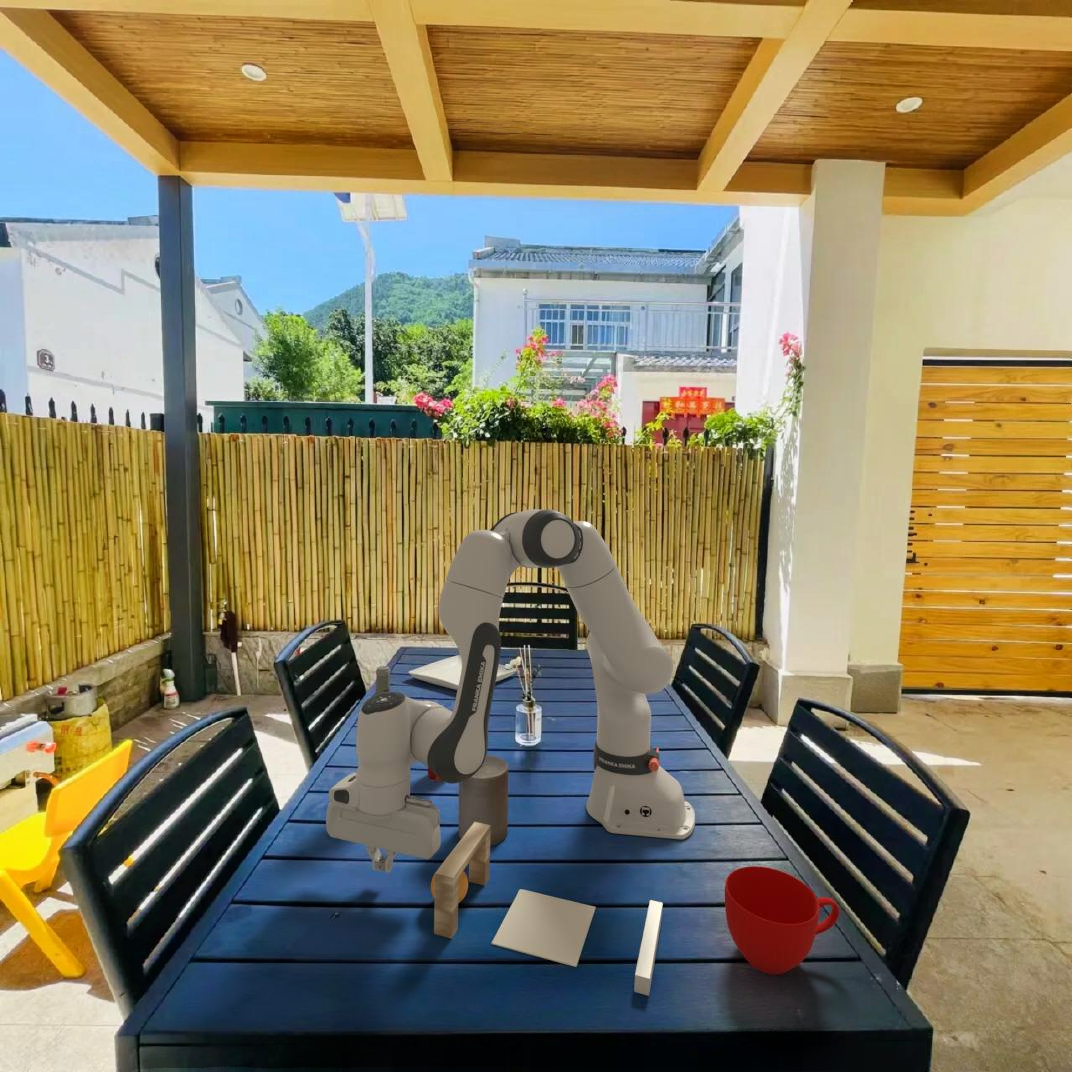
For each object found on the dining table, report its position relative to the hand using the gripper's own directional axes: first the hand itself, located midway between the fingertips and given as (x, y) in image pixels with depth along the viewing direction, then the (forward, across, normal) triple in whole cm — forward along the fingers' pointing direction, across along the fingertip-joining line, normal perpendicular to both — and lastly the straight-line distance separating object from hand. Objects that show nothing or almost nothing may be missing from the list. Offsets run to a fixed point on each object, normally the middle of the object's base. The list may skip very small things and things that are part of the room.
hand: (382, 869), depth 105 cm
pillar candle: (+3, -10, -20) cm, 23 cm away
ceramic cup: (+3, -64, -6) cm, 64 cm away
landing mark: (+3, -29, 0) cm, 29 cm away
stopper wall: (+3, -45, 0) cm, 45 cm away
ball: (0, -13, 0) cm, 13 cm away
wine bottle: (+3, +13, -21) cm, 25 cm away
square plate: (+3, +32, -104) cm, 109 cm away
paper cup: (+3, +8, -38) cm, 39 cm away
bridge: (+3, -15, 0) cm, 15 cm away
